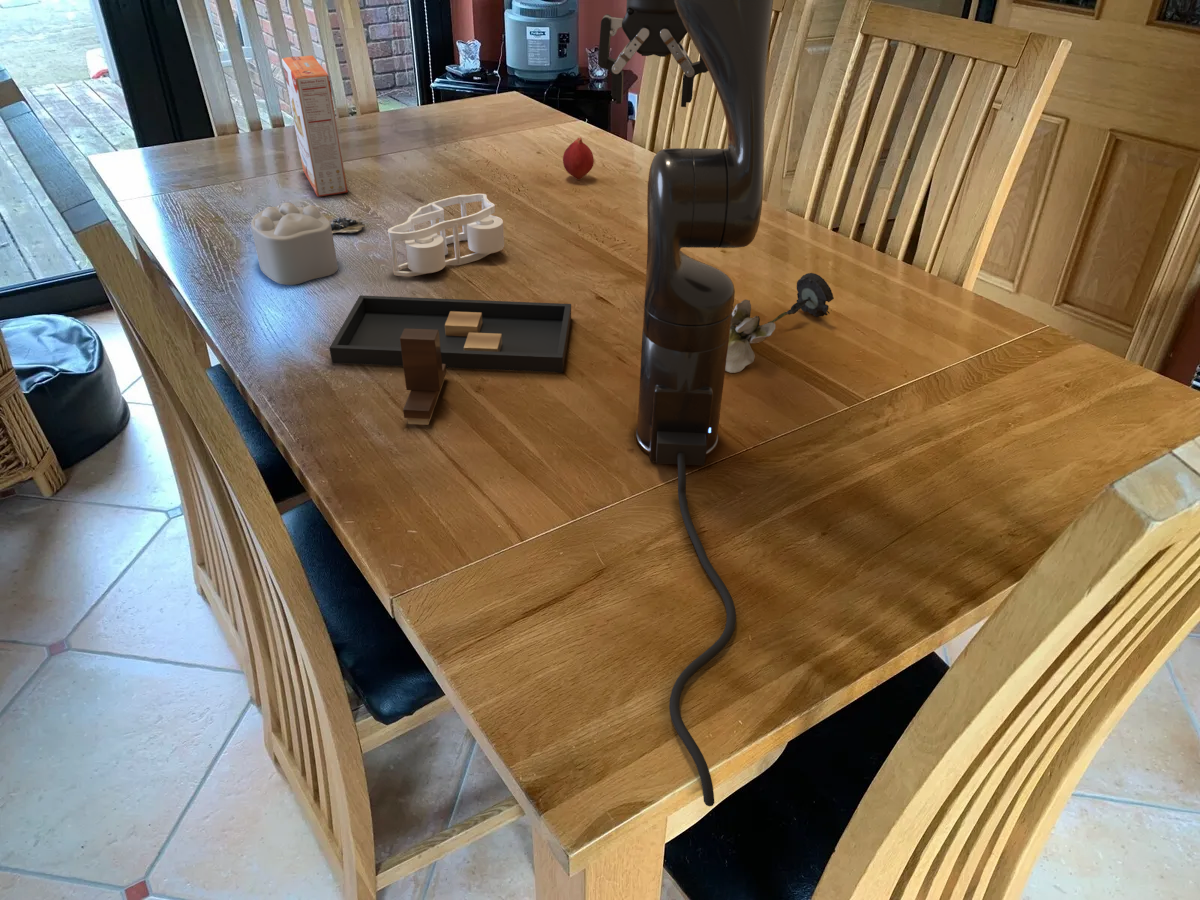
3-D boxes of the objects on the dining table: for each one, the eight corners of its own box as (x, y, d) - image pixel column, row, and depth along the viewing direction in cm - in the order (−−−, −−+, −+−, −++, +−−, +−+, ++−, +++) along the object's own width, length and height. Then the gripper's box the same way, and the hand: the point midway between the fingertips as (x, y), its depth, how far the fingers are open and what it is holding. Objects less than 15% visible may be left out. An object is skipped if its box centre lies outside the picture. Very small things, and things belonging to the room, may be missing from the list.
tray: (562, 376, 114) (562, 357, 112) (332, 366, 114) (329, 347, 113) (571, 321, 125) (571, 303, 124) (362, 313, 126) (359, 295, 124)
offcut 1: (478, 337, 120) (477, 326, 119) (445, 335, 120) (444, 325, 119) (482, 322, 123) (481, 312, 122) (450, 321, 123) (450, 311, 122)
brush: (435, 430, 104) (427, 357, 98) (401, 428, 104) (391, 356, 98) (451, 382, 112) (445, 313, 106) (419, 380, 112) (411, 311, 106)
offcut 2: (498, 359, 115) (497, 348, 115) (464, 358, 116) (463, 347, 115) (502, 344, 119) (501, 333, 118) (469, 342, 119) (468, 332, 118)
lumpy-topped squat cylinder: (281, 288, 132) (269, 233, 126) (247, 258, 140) (234, 205, 134) (346, 270, 137) (337, 216, 132) (310, 242, 145) (300, 190, 140)
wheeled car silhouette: (412, 289, 132) (407, 243, 128) (374, 264, 139) (368, 219, 134) (520, 254, 143) (518, 210, 139) (479, 232, 150) (477, 189, 145)
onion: (558, 182, 169) (558, 140, 165) (568, 172, 174) (568, 131, 169) (588, 186, 168) (588, 143, 163) (597, 176, 172) (597, 134, 168)
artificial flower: (839, 333, 127) (862, 281, 119) (721, 398, 117) (737, 346, 109) (796, 295, 131) (815, 242, 123) (678, 355, 121) (691, 302, 113)
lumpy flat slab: (368, 234, 148) (366, 223, 147) (318, 240, 146) (317, 229, 145) (361, 219, 153) (359, 208, 152) (313, 225, 151) (311, 214, 150)
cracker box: (301, 173, 171) (280, 56, 158) (333, 169, 173) (314, 53, 160) (315, 198, 160) (293, 75, 148) (348, 193, 162) (330, 72, 150)
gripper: (597, -32, 106) (595, 109, 116) (717, -28, 105) (705, 114, 115) (603, -41, 112) (600, 94, 122) (717, -37, 111) (705, 99, 121)
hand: (651, 104), depth 118 cm, fingers open, 8 cm apart
